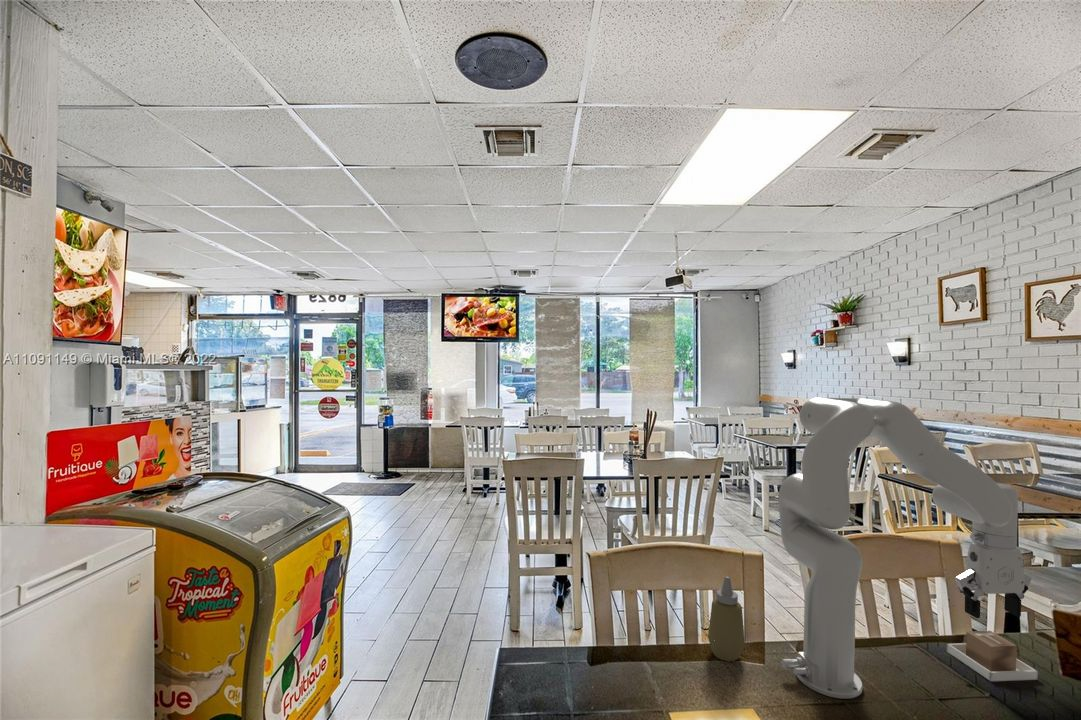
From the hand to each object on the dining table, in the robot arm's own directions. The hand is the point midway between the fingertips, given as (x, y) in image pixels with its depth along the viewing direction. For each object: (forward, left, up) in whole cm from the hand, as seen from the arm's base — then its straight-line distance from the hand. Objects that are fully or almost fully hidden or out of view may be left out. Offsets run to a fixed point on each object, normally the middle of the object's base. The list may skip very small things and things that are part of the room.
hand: (992, 614), depth 114 cm
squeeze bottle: (-58, +7, -12) cm, 60 cm away
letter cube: (0, 0, -11) cm, 11 cm away
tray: (0, 0, -12) cm, 12 cm away
